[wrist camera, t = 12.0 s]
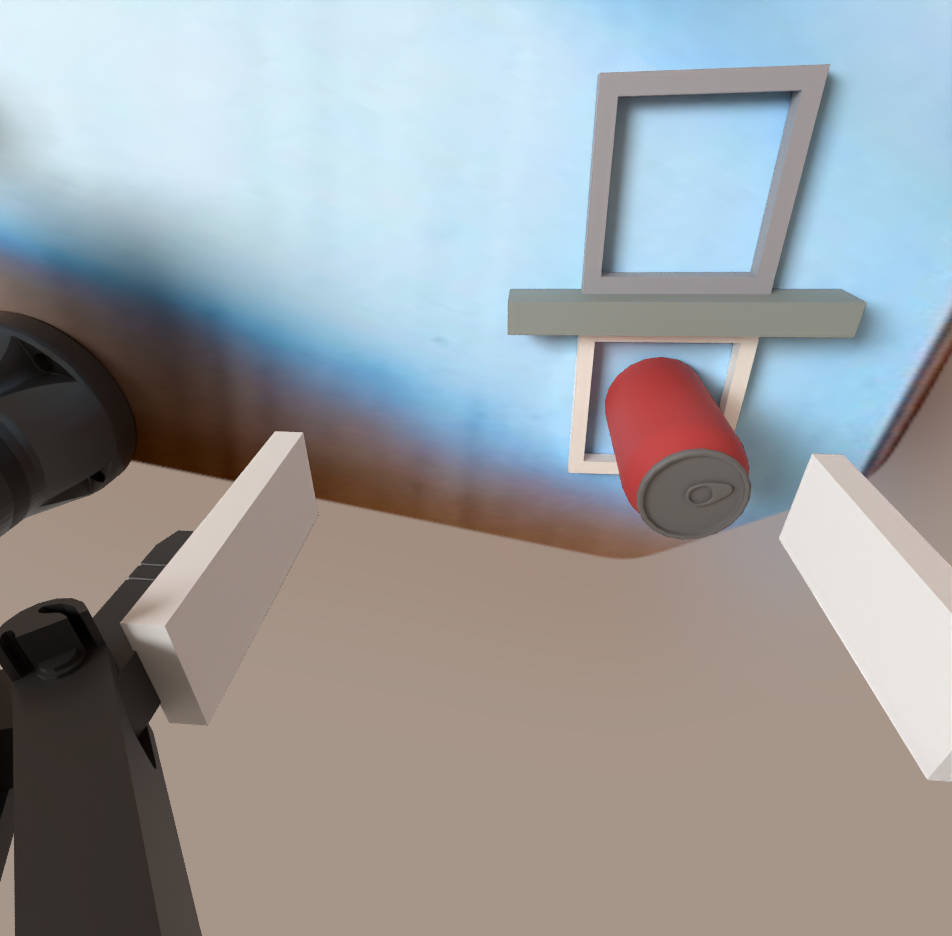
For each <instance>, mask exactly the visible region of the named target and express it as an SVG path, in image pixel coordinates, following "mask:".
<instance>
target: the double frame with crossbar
mask: <svg viewBox="0 0 952 936" xmlns="http://www.w3.org/2000/svg"><path fill="white" fill-rule="evenodd" d="M829 66H830V64H826V65H799V66H772V67H746V68H719V69H692V70H666V71H639V72H612V73H599V74H598V81H597V94H596V107H595V120H594V133H593V146H592V159H591V172H590V185H589V198H588V211H587V224H586V237H585V250H584V263H583V276H582V289H510V293H509V299H508V335H578V341H577V354H576V367H575V380H574V393H573V406H572V419H571V432H570V445H569V458H568V470H569V473H594V474H619V471H618V466H617V462H616V458H615V454H592V453H584V451H585V441H586V430H587V419H588V409H589V398H590V388H591V377H592V366H593V356H594V345H595V342H682V343H734V345H733V349H732V353H731V358H730V362H729V366H728V370H727V375H726V379H725V383H724V387H723V392H722V396H721V400H720V404H719V409H720V410H721V412H722V413H723V415H724V416H725V418H726V419H727V421H728V423H729V424H730V426H731V427H732V429H733V430H734V432H735V430H736V426H737V422H738V418H739V414H740V410H741V407H742V403H743V399H744V395H745V391H746V387H747V383H748V380H749V376H750V372H751V368H752V364H753V360H754V356H755V352H756V349H757V345H758V341H759V337H831V338H854V337H855V334H856V331H857V328H858V326H859V323H860V320H861V317H862V314H863V311H864V309H865V306H866V302H864V301H862V300H861V299H859V298H857V297H855V296H853V295H851V294H849V293H848V292H846V291H844V290H842V289H772V287H773V283H774V279H775V275H776V271H777V267H778V264H779V260H780V256H781V252H782V248H783V244H784V240H785V237H786V233H787V229H788V225H789V221H790V217H791V213H792V209H793V206H794V202H795V198H796V194H797V190H798V186H799V182H800V179H801V175H802V171H803V167H804V163H805V159H806V155H807V152H808V148H809V144H810V140H811V136H812V132H813V128H814V124H815V121H816V117H817V113H818V109H819V105H820V101H821V97H822V94H823V90H824V86H825V82H826V78H827V74H828V70H829ZM788 91H793V93H792V97H791V102H790V106H789V110H788V114H787V119H786V123H785V127H784V132H783V136H782V140H781V144H780V149H779V153H778V157H777V161H776V166H775V170H774V174H773V178H772V183H771V187H770V191H769V195H768V200H767V204H766V208H765V213H764V217H763V221H762V225H761V230H760V234H759V238H758V242H757V247H756V251H755V255H754V259H753V264H752V268H751V272H647V273H601V271H602V261H603V250H604V239H605V229H606V218H607V208H608V197H609V186H610V176H611V165H612V155H613V144H614V133H615V123H616V112H617V102H618V97H637V96H667V95H697V94H727V93H757V92H788Z"/></svg>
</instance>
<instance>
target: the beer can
mask: <svg viewBox="0 0 952 936" xmlns="http://www.w3.org/2000/svg"><path fill="white" fill-rule="evenodd" d="M605 413H606V419H607V423H608V427H609V432H610V436H611V440H612V445H613V449H614V453H615V458H616V462H617V466H618V471H619V475H620V479H621V484H622V488H623V490H624V492H625V494H626V496H627V499H628V501H629V502H630V504H631V505H632V507H633V508H634V509H635V510H636V511H637V512H638V513H639V514H640V515H641V517H642V519H643V521H644V522H645V523H646V524H647V525H648V526H649V527H650V528H651V529H652V530H654V531H656V532H658V533H660V534H662V535H664V536H666V537H672V538H677V539H697V538H702V537H706V536H709V535H712V534H715V533H717V532H719V531H721V530H723V529H724V528H726V527H728V526H730V525H731V524H732V523H733V522H734V521H735V520H736V519H737V518H738V517H739V516H740V515H741V514H742V513H743V511H744V509H745V507H746V505H747V503H748V502H749V499H750V490H751V484H750V481H749V477H748V475H749V465H748V460H747V456H746V453H745V450H744V447H743V444H742V443H741V441H740V440H739V438H738V437H737V435H736V434H735V432H734V430H733V429H732V427H731V426H730V424H729V423H728V421H727V419H726V418H725V416H724V415H723V413H722V412H721V410H720V409H719V407H718V405H717V404H716V402H715V401H714V399H713V398H712V396H711V394H710V393H709V391H708V390H707V388H706V387H705V385H704V384H703V382H702V380H701V379H700V377H699V376H698V375H697V374H696V373H695V372H694V370H693V369H692V368H691V367H690V366H688V365H686V364H684V363H682V362H681V361H679V360H676V359H670V358H665V357H658V358H650V359H644V360H642V361H640V362H637V363H635V364H632V365H630V366H629V367H628V368H626V369H625V370H624V371H623V372H621V373H620V374H619V375H618V376H617V377H616V379H615V380H614V382H613V383H612V384H611V386H610V387H609V390H608V393H607V396H606V400H605Z"/></svg>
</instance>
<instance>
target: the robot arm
mask: <svg viewBox="0 0 952 936" xmlns="http://www.w3.org/2000/svg"><path fill="white" fill-rule="evenodd" d="M135 445H136V432H135V425H134V420H133V417H132V414H131V411H130V408H129V406H128V404H127V401H126V399H125V397H124V395H123V394H122V392H121V390H120V389H119V387H118V386H117V384H116V383H115V381H114V380H113V378H112V377H111V376H110V374H109V373H108V372H107V371H106V370H105V368H104V367H103V366H102V365H101V364H100V363H99V362H98V361H97V360H96V359H95V358H94V357H93V356H92V355H91V354H90V353H89V352H88V351H86V350H85V349H84V348H83V347H82V346H80V345H79V344H78V343H76V342H75V341H74V340H72V339H71V338H69V337H68V336H66V335H65V334H63V333H62V332H60V331H58V330H57V329H55V328H53V327H51V326H49V325H47V324H45V323H43V322H41V321H38V320H36V319H33V318H30V317H27V316H24V315H21V314H17V313H12V312H7V311H0V537H1V536H2V535H4V534H5V533H6V532H7V531H9V530H10V529H11V528H13V527H14V526H15V525H17V524H18V523H19V522H20V521H22V520H23V519H25V518H27V517H29V516H32V515H35V514H38V513H40V512H43V511H46V510H49V509H52V508H55V507H57V506H60V505H63V504H66V503H69V502H72V501H74V500H77V499H80V498H83V497H86V496H89V495H91V494H93V493H95V492H97V491H99V490H100V489H102V488H103V487H105V486H106V485H107V484H109V483H110V482H111V481H112V480H113V479H115V478H116V477H117V476H118V475H120V474H121V473H122V472H123V471H124V470H125V469H126V467H127V466H128V465H129V463H130V461H131V459H132V457H133V454H134V450H135ZM317 517H318V509H317V504H316V499H315V493H314V488H313V482H312V477H311V472H310V466H309V461H308V456H307V450H306V445H305V440H304V434H303V432H281V431H275V432H274V433H273V435H272V436H271V437H270V438H269V440H268V441H267V442H266V443H265V444H264V446H263V447H262V448H261V449H260V451H259V452H258V453H257V454H256V456H255V457H254V458H253V459H252V461H251V462H250V463H249V464H248V465H247V467H246V468H245V469H244V470H243V472H242V473H241V474H240V475H239V477H238V478H237V479H236V480H235V482H234V483H233V484H232V485H231V487H230V488H229V489H228V490H227V491H226V493H225V494H224V495H223V496H222V498H221V499H220V500H219V501H218V503H217V504H216V505H215V506H214V507H213V509H212V510H211V511H210V512H209V514H208V515H207V516H206V517H205V519H204V520H203V521H202V522H201V524H200V525H199V526H198V527H197V528H196V530H195V531H177V532H175V533H174V534H172V535H171V536H169V537H168V538H166V539H165V540H163V541H162V542H160V543H159V544H157V545H156V546H155V547H154V548H153V550H152V551H151V552H150V553H149V554H148V555H147V556H146V557H145V559H144V560H143V561H142V562H141V563H142V564H141V566H138V567H137V568H136V569H135V570H134V571H133V572H132V574H131V575H130V576H129V580H126V581H125V582H124V583H123V584H122V585H121V586H120V587H119V588H118V590H117V591H116V592H115V593H114V594H113V595H112V597H111V598H110V599H109V600H108V601H107V602H106V603H105V604H104V606H103V607H102V608H101V609H100V610H99V611H98V613H97V614H96V615H95V616H94V617H93V618H92V616H91V615H90V613H89V611H88V609H87V607H86V606H85V604H84V603H83V602H81V601H78V600H76V599H73V598H68V599H67V598H66V599H65V598H63V599H54V600H49V601H46V602H42V603H38V604H36V605H34V606H32V607H30V608H27V609H25V610H23V611H21V612H19V613H18V614H16V615H15V616H13V617H12V618H11V619H9V620H8V621H7V622H5V623H4V624H3V625H2V626H1V627H0V665H1V666H2V668H3V669H2V670H0V881H1V877H2V873H3V870H4V866H5V863H6V859H7V855H8V852H9V848H10V845H11V841H12V837H13V834H14V873H15V874H14V876H15V877H14V878H15V879H14V880H15V936H202V934H201V930H200V926H199V922H198V918H197V913H196V910H195V906H194V901H193V897H192V893H191V888H190V885H189V880H188V876H187V872H186V868H185V863H184V859H183V855H182V851H181V847H180V843H179V838H178V834H177V830H176V826H175V822H174V817H173V813H172V809H171V805H170V801H169V796H168V792H167V788H166V784H165V780H164V776H163V771H162V767H161V763H160V759H159V755H158V751H157V746H156V742H155V738H154V734H153V731H152V729H151V727H150V725H149V721H150V720H151V718H152V716H153V715H154V713H155V712H156V710H157V708H158V707H159V705H161V707H162V709H163V711H164V713H165V715H166V717H167V719H168V721H169V722H170V723H181V724H194V725H207V726H208V725H209V723H210V721H211V719H212V717H213V715H214V713H215V711H216V709H217V707H218V705H219V704H220V702H221V700H222V698H223V696H224V694H225V692H226V690H227V688H228V687H229V685H230V683H231V681H232V679H233V677H234V675H235V673H236V671H237V669H238V667H239V665H240V663H241V662H242V660H243V658H244V656H245V654H246V652H247V650H248V648H249V646H250V645H251V643H252V641H253V639H254V637H255V635H256V633H257V631H258V629H259V627H260V626H261V624H262V622H263V620H264V618H265V616H266V614H267V612H268V610H269V608H270V606H271V605H272V603H273V601H274V599H275V597H276V595H277V593H278V591H279V589H280V587H281V585H282V584H283V582H284V580H285V578H286V576H287V574H288V572H289V570H290V568H291V567H292V565H293V563H294V561H295V559H296V557H297V555H298V553H299V551H300V549H301V547H302V546H303V544H304V542H305V540H306V538H307V536H308V534H309V532H310V530H311V528H312V526H313V525H314V523H315V521H316V519H317ZM779 540H780V541H781V543H782V544H783V546H784V548H785V549H786V551H787V552H788V554H789V556H790V557H791V559H792V560H793V562H794V564H795V566H796V567H797V569H798V570H799V572H800V574H801V575H802V577H803V578H804V580H805V582H806V583H807V585H808V587H809V588H810V590H811V591H812V593H813V595H814V596H815V598H816V600H817V601H818V603H819V605H820V606H821V608H822V609H823V611H824V613H825V614H826V616H827V617H828V619H829V621H830V622H831V624H832V626H833V627H834V629H835V631H836V632H837V634H838V635H839V637H840V639H841V640H842V642H843V643H844V645H845V647H846V648H847V650H848V651H849V653H850V655H851V656H852V658H853V660H854V661H855V663H856V665H857V666H858V668H859V669H860V671H861V673H862V674H863V676H864V678H865V679H866V681H867V682H868V684H869V686H870V687H871V689H872V690H873V692H874V694H875V695H876V697H877V699H878V700H879V702H880V703H881V705H882V707H883V708H884V710H885V712H886V713H887V715H888V717H889V718H890V720H891V721H892V723H893V725H894V726H895V728H896V730H897V731H898V733H899V734H900V736H901V738H902V739H903V741H904V743H905V744H906V746H907V747H908V749H909V751H910V752H911V754H912V756H913V757H914V759H915V760H916V762H917V764H918V765H919V767H920V769H921V770H922V772H923V773H924V775H925V777H926V778H927V780H937V781H951V782H952V567H951V566H950V565H949V564H948V563H947V562H946V561H945V560H944V559H943V557H941V556H940V554H939V553H938V552H937V551H936V550H935V549H934V548H933V547H932V546H931V545H930V544H929V543H928V542H927V541H926V540H925V539H924V538H923V537H922V536H921V535H920V534H919V533H918V532H917V531H916V530H915V528H914V527H913V526H911V524H910V523H909V522H908V521H906V519H905V518H904V517H903V516H902V515H901V514H900V513H899V512H898V511H897V510H896V509H895V508H894V507H893V506H892V505H891V504H890V503H889V502H888V501H887V499H885V497H884V496H883V495H882V494H881V493H880V492H879V491H878V490H877V489H876V488H875V487H874V486H873V485H872V484H871V483H870V482H869V481H868V480H867V479H866V478H865V477H864V476H863V475H862V474H861V473H860V472H859V471H858V469H857V468H856V467H855V466H854V465H853V464H852V463H851V462H850V461H849V460H848V459H847V458H846V457H845V456H844V455H832V454H812V455H811V458H810V460H809V463H808V465H807V468H806V470H805V473H804V475H803V478H802V481H801V483H800V486H799V488H798V491H797V493H796V496H795V498H794V501H793V504H792V506H791V509H790V511H789V514H788V517H787V519H786V521H785V524H784V527H783V529H782V532H781V534H780V537H779Z"/></svg>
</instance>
